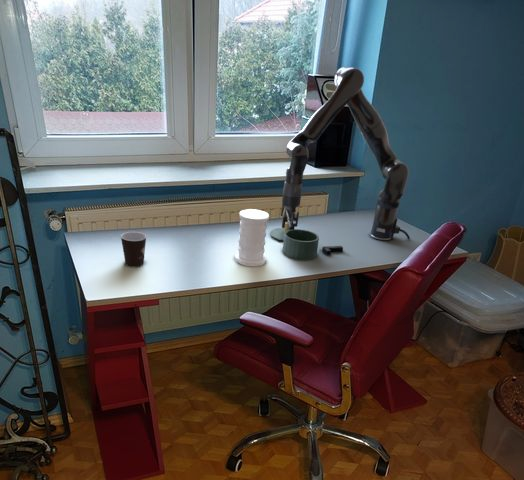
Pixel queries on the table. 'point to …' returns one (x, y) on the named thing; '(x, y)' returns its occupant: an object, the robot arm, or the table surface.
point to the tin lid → (279, 232)
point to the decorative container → (252, 237)
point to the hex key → (332, 249)
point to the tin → (300, 244)
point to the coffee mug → (133, 248)
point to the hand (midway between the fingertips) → (287, 231)
